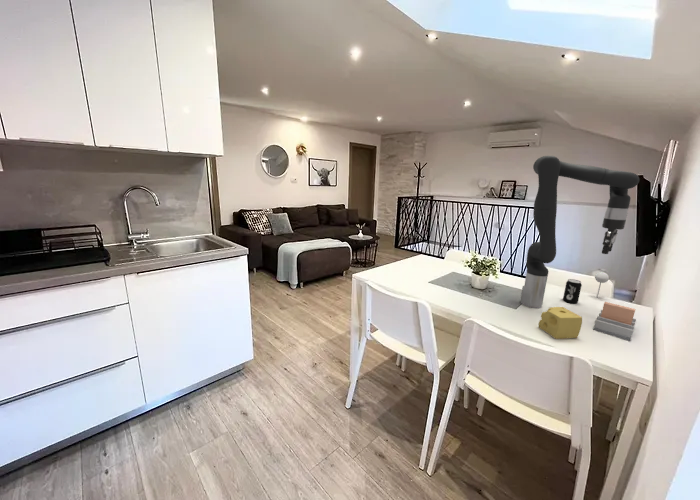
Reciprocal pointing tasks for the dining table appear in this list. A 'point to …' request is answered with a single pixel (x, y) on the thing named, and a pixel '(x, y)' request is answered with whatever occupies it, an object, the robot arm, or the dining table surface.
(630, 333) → the dish rack
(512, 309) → the dining table surface
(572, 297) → the beverage can
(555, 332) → the cheese
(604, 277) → the lollipop
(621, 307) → the peach wooden block
